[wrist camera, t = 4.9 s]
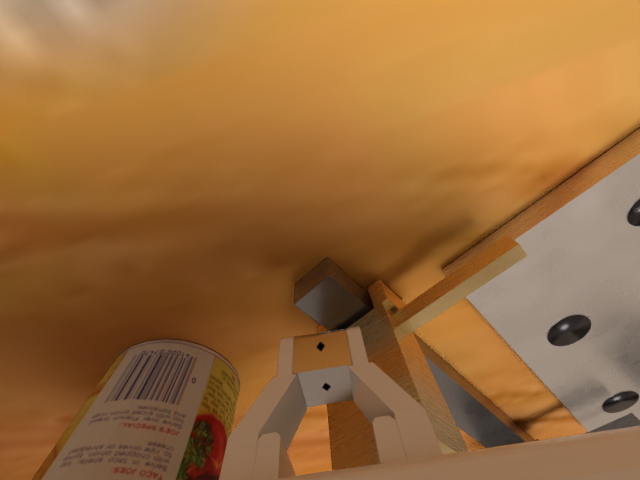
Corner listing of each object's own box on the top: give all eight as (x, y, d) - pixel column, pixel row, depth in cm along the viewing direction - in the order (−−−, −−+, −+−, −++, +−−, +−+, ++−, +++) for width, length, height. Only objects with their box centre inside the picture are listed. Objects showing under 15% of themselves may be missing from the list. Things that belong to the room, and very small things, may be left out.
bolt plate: (582, 424, 23) (596, 441, 22) (442, 269, 15) (453, 283, 14) (749, 348, 20) (776, 363, 19) (683, 96, 12) (723, 96, 11)
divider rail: (500, 456, 25) (579, 598, 18) (284, 293, 15) (269, 462, 8) (615, 402, 22) (762, 546, 15) (439, 162, 12) (616, 250, 5)
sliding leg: (343, 346, 17) (372, 513, 10) (316, 326, 16) (327, 494, 9) (497, 239, 14) (676, 371, 7) (473, 207, 13) (653, 324, 6)
